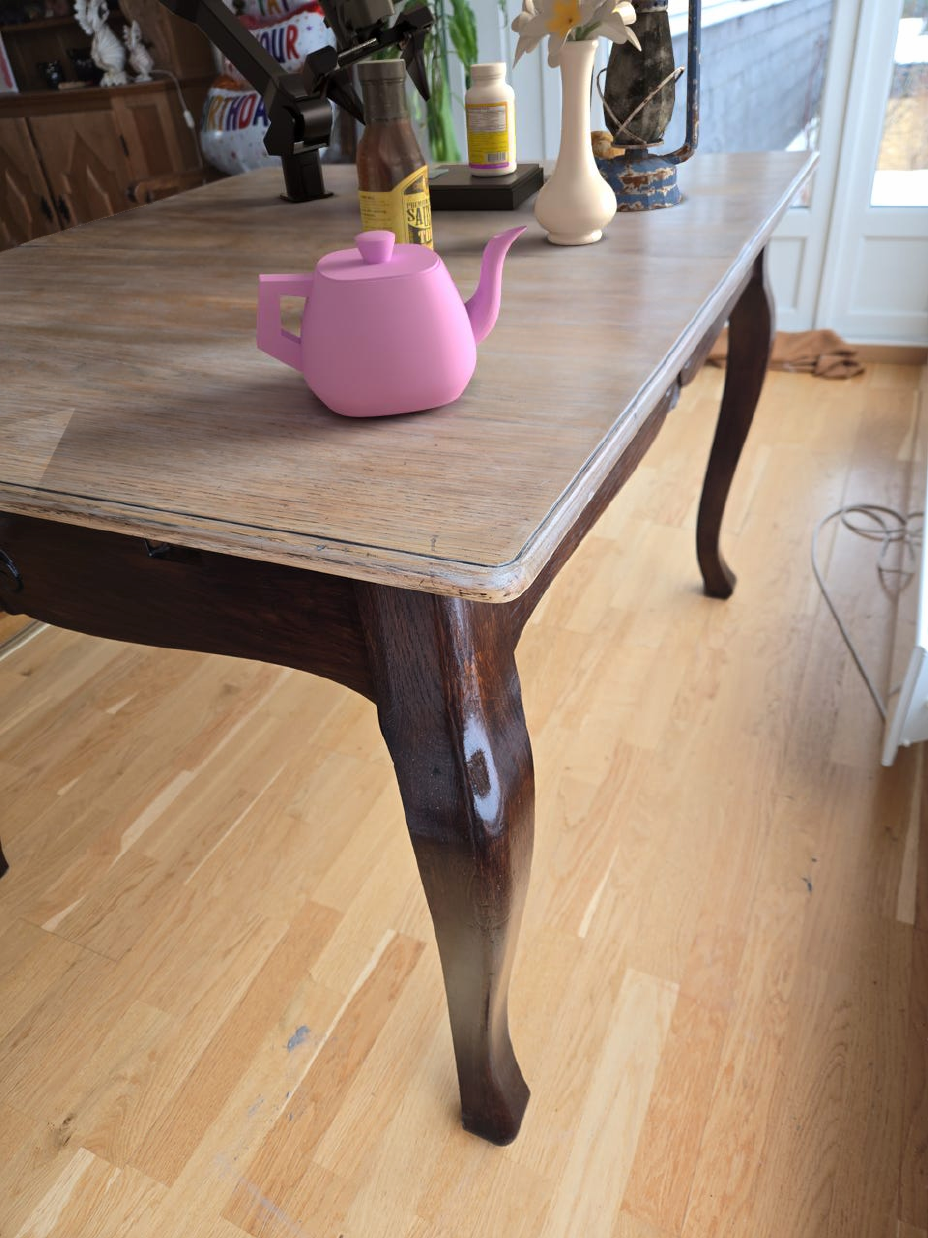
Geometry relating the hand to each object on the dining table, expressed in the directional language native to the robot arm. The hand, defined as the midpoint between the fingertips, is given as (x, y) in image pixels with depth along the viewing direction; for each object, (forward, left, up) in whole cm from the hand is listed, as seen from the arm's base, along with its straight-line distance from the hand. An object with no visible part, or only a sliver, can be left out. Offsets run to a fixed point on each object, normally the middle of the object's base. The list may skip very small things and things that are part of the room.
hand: (400, 113), depth 114 cm
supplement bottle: (+5, +11, -8) cm, 15 cm away
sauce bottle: (+42, -23, -11) cm, 50 cm away
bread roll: (+6, +28, -11) cm, 31 cm away
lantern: (+22, +22, -11) cm, 33 cm away
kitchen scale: (+3, +9, -11) cm, 15 cm away
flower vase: (+32, +4, -11) cm, 34 cm away
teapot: (+60, -33, -11) cm, 70 cm away
